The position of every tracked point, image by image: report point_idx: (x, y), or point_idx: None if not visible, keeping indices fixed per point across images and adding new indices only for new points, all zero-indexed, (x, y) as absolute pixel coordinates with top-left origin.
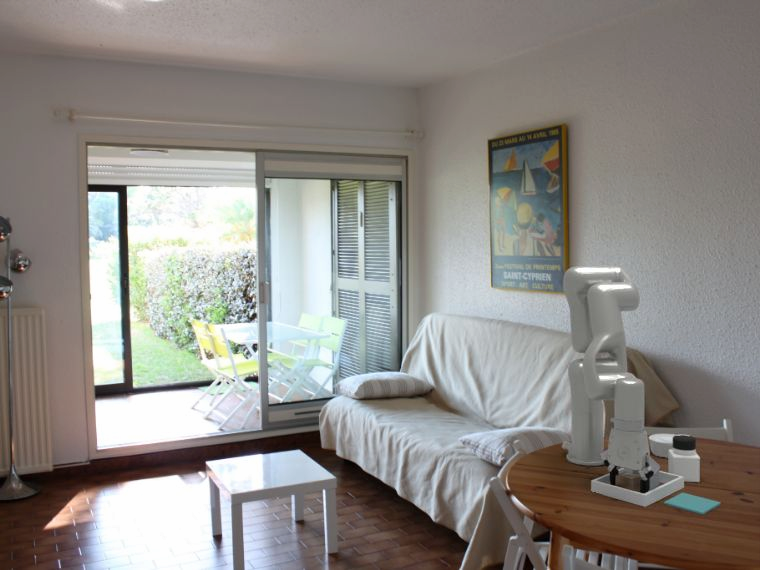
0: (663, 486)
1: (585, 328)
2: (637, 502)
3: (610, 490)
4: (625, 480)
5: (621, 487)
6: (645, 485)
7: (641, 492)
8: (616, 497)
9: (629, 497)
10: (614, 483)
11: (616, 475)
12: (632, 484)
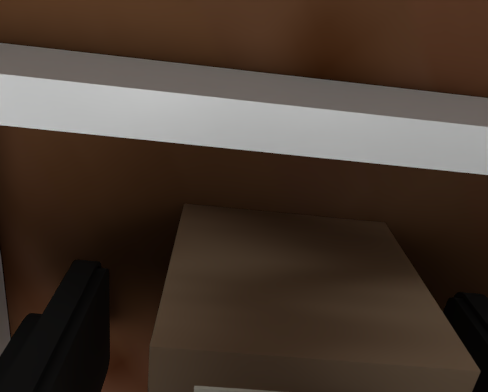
0: None
1: None
2: (30, 51)
3: (430, 105)
4: (288, 329)
5: (332, 262)
6: (12, 362)
7: (80, 271)
8: (323, 82)
9: (135, 68)
10: None
11: (469, 385)
12: (166, 296)
